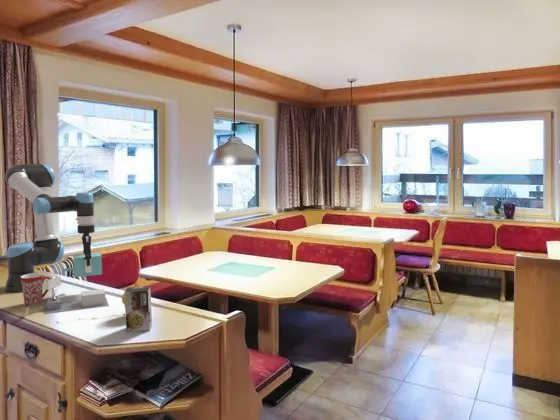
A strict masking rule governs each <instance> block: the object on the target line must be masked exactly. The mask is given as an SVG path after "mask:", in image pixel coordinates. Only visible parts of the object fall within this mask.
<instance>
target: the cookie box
mask: <svg viewBox="0 0 560 420" xmlns="http://www.w3.org/2000/svg"><path fill="white" fill-rule="evenodd" d="M151 288H152V287H151V286H128V287H127V288H126V289H125V290H124V294H125V306H124V309H125V332H126V333H131V332H147V331H148V332H149V331H150V330H151V329H152V326H153V320H152V319H153V317H152V293H151V291H152V289H151Z"/></svg>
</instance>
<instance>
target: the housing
mask: <svg viewBox="0 0 560 420" xmlns="http://www.w3.org/2000/svg"><path fill="white" fill-rule="evenodd" d="M80 296H81V299H79V300H72V301H71V300H70V301H61V298H59V299H57V300H52V298H51V299H47V301H46V302H47V303H44V306H43V315H48V314H49V315H51V314H57V313H65V312H73V311H81V310H88V309H97V308H104V307H109V306H110V305H109V301H108V299H107V297H106V291H105V289H103V288H102V289H94V290H93V289H92V290H84V291H83V290H82V291H80Z"/></svg>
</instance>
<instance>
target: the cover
mask: <svg viewBox="0 0 560 420" xmlns="http://www.w3.org/2000/svg"><path fill="white" fill-rule="evenodd" d="M72 255H73V267H66V268H62V272H72V271H73V273H74V278H78V277H80V278H81V277H90V276H91V277H92V276H98V275H99V276H100V275H103V263H102V254H101V252H91V267H92V272H89V273H85V259H84V258H85V254H84V253H78V254H77V253H76V254H74V253H73V254H72Z"/></svg>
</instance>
